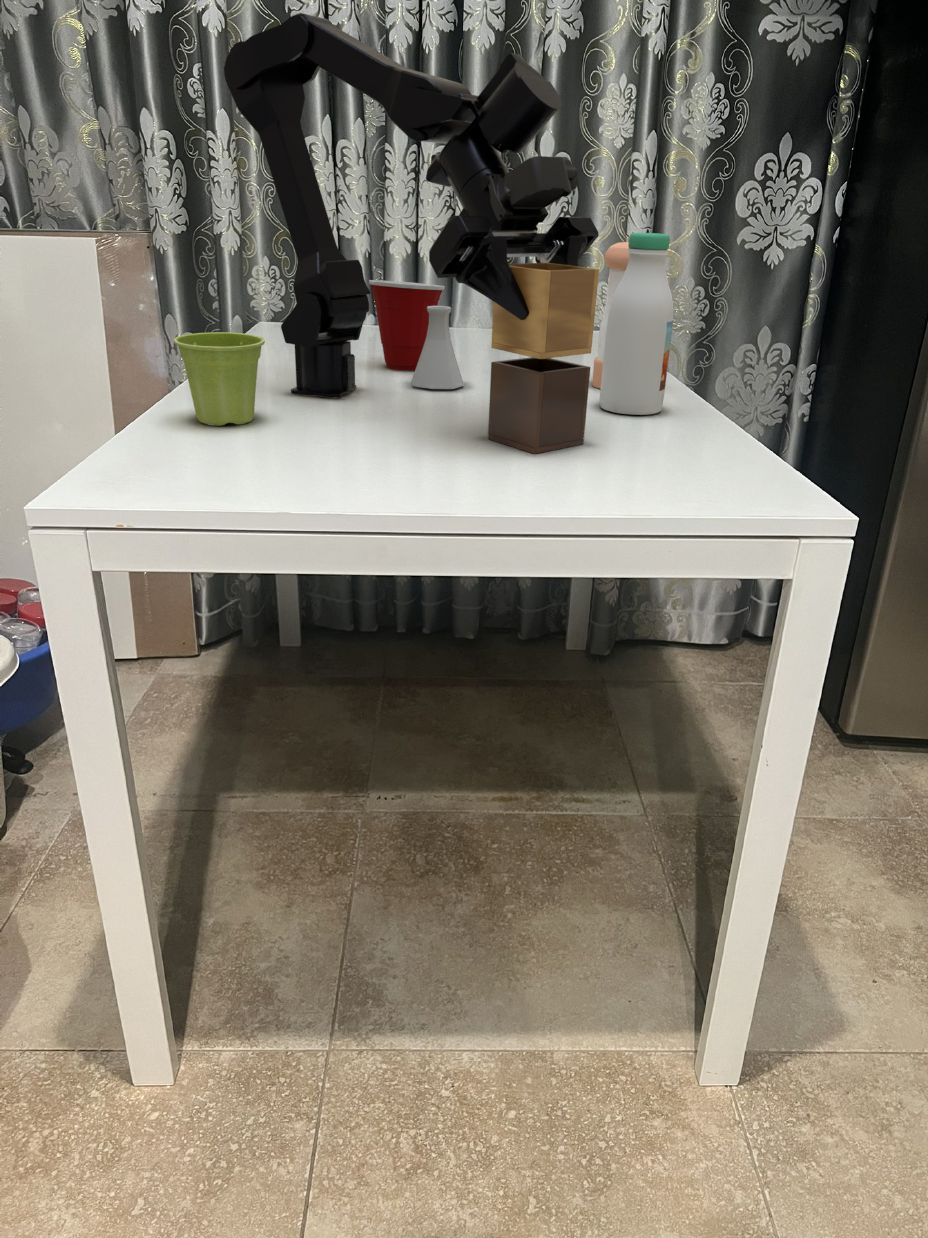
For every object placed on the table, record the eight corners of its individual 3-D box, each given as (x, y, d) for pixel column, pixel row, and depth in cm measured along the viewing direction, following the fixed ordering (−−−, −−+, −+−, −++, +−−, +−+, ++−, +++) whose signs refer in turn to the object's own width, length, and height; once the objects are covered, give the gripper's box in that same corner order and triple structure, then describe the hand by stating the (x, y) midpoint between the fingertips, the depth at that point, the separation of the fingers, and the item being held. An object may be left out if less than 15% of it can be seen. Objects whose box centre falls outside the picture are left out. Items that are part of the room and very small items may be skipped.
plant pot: (285, 415, 103) (280, 336, 99) (240, 434, 95) (234, 348, 91) (213, 407, 105) (206, 329, 102) (164, 424, 97) (154, 340, 93)
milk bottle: (648, 419, 107) (670, 235, 98) (588, 409, 110) (605, 231, 102) (671, 408, 113) (694, 234, 104) (613, 399, 116) (631, 230, 108)
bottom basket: (487, 438, 96) (491, 361, 93) (536, 429, 101) (541, 355, 97) (534, 454, 91) (540, 373, 88) (583, 444, 96) (590, 366, 92)
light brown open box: (491, 347, 92) (495, 263, 89) (541, 342, 96) (547, 262, 93) (540, 359, 87) (546, 270, 84) (591, 353, 92) (599, 268, 88)
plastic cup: (457, 366, 134) (460, 280, 129) (415, 377, 126) (416, 285, 120) (398, 358, 139) (398, 274, 134) (354, 367, 131) (352, 279, 126)
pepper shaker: (609, 392, 120) (625, 236, 112) (582, 382, 126) (595, 233, 118) (655, 390, 123) (674, 237, 115) (626, 379, 129) (642, 233, 121)
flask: (458, 392, 117) (460, 311, 113) (404, 388, 118) (404, 308, 114) (469, 382, 124) (472, 305, 119) (417, 378, 125) (418, 302, 120)
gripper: (450, 115, 80) (528, 259, 78) (594, 129, 91) (666, 255, 89) (397, 209, 89) (465, 341, 86) (534, 211, 100) (598, 328, 97)
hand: (553, 314), depth 89 cm, fingers closed on light brown open box, 7 cm apart
